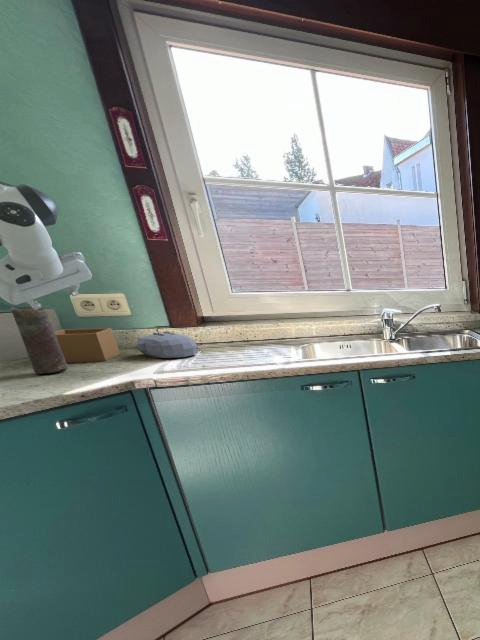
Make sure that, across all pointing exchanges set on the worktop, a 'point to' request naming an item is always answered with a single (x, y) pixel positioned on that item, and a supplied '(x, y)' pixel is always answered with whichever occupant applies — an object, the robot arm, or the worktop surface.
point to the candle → (39, 340)
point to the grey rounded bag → (167, 345)
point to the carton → (87, 344)
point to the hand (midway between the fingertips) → (55, 300)
